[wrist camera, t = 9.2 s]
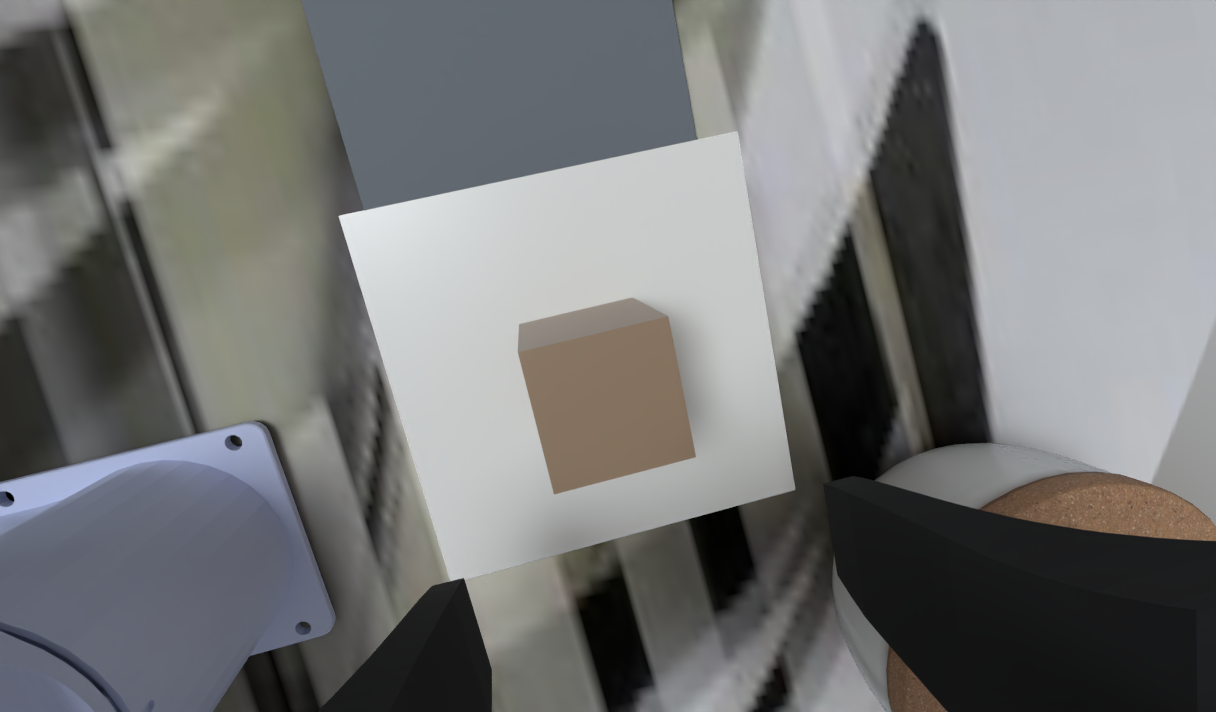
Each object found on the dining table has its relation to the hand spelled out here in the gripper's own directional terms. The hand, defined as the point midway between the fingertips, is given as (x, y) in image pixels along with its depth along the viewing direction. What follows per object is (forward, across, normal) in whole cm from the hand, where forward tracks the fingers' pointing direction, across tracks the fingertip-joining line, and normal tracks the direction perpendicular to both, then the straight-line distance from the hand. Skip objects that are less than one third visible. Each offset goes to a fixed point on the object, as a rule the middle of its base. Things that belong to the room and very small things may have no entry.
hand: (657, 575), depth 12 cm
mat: (+10, 0, -13) cm, 17 cm away
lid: (+6, 0, -3) cm, 7 cm away
